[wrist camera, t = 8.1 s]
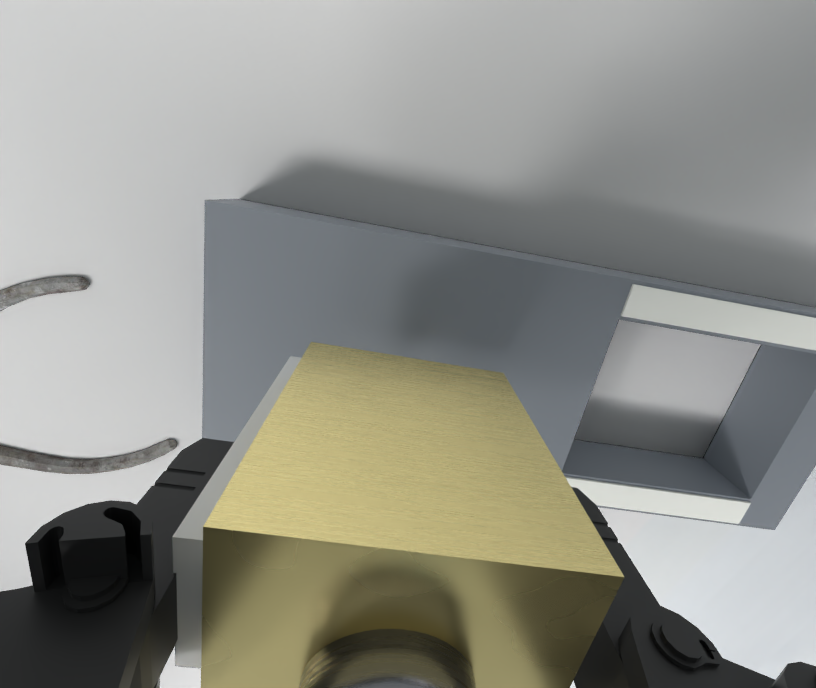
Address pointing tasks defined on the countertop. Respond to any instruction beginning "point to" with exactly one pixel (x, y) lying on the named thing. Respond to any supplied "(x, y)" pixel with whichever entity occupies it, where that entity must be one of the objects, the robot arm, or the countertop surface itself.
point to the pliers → (57, 464)
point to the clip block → (399, 538)
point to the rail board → (507, 346)
